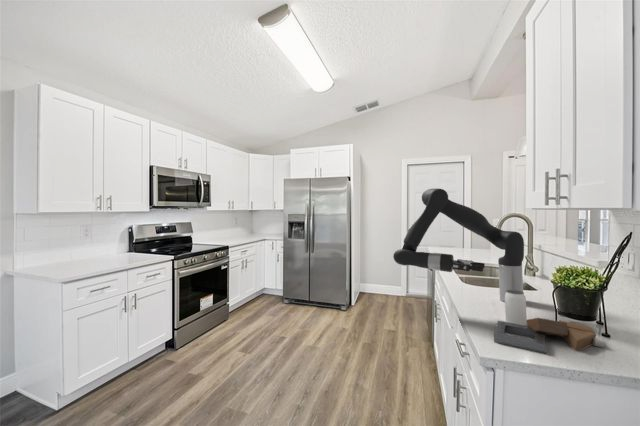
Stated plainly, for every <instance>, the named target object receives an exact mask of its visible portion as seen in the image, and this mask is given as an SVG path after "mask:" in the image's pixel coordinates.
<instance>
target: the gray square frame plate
mask: <svg viewBox="0 0 640 426" xmlns="http://www.w3.org/2000/svg"><path fill="white" fill-rule="evenodd" d="M493 342H494V343H496V342H497V343H498V344H502V345H506V346H510V347H516V348H520V349H524V350H530V351H533V352H538V353H542V354H547V352H546V349H547V348H546V345H547V344H546V337H545V334H544V332H538V331H534V330H533V329H532V328H531V327H529V326H527V325H526V326H525V325H519V324H514V323H508V322H506V321H501V320H498V321H497V323H496V326H495V329H494V333H493ZM497 343H496V344H497Z"/></svg>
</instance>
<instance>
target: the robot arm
mask: <svg viewBox="0 0 640 426" xmlns="http://www.w3.org/2000/svg"><path fill="white" fill-rule="evenodd" d="M421 201H422V204H423V205H424V206H425V207H424V208H425V209H424V210H423V212H422V213H421V214H420V216H419V217H418V218H417V219H416V220H415V222H413V224H411V226H410V228H409V230H408V231H407V234H406V235H405V237H404V239H403V246H402V248H401V249H397V250H395V251H394V253H393V256H392V257H393V260H394V261H395V263H396V264H398V265H401V266H414V267H417V268H422V269H423V268H424V269H429V270H434V271H439V272H447V273H452V272H453V270H456V271H457V270H458V271H465V272H472V271H475V272H483V271H484V269H485V266H486V265H485V263H484V262H478V261H473V260H470V259H469V260H468V259H462V258H458V259H456V260H455V258H454V255H453V254H448V253H440V252H425V251H417V250H418V247H419V245H420V244H421V242H422V240H423V238H424V236H425V235H426V233H427V231H428V230H429V228H430V226H431V225H432V223H433V222H434V221H435V219H436V218H437V216H439V214H440V213H441V214H442V215H444V216H446V217H448V218H449V219H450V220H452V221H453V222H455V223H457V224H458V225H459V226H461V227H463V228H465V229H466V230H469V232H472V233H474V234H476V235H477V236H479V237H482V238H484V239H485V240H487V242H489V243H491V244H492V245H494V247H496V248H498V249H500V250H503V251H504V255H503V256H501V257H499V258H498V283H499V286H498V287H499V288H498V289H499V300H500V301H501V302H503V303H505V293H506V290H518V291H522V292H524V282H523V281H524V280H523V261H524V258H525V241H524V237H523V235H522V234H521V233H520V232H518V231H510V230H509V231H508V230H503V229H500V228H498V227H495V226H494V225H492V224H491V223H490V222H489V221H488V219H487V218H486V217H485V215H483V214H482V213H480V212H478V211H477V210H475V209H474V208H471V207H469V206H467V205H463V204H460V203H459V202H458V203H457V202H455V201H453V200H450V199H449V194H448V192H447V191H446V190H445V189H443V188H429V189H426V190H425V191H423V193H422V195H421Z"/></svg>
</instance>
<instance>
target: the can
mask: <svg viewBox="0 0 640 426" xmlns="http://www.w3.org/2000/svg"><path fill="white" fill-rule="evenodd" d="M504 308H505V310H504V311H505V313H504V314H505V322H508V323H514V324H519V325H525V326H527V319H528V318H527V316H528V315H527V298H526V295H525V292H524V291H523V292H522V291H518V290H506V293H505V302H504Z"/></svg>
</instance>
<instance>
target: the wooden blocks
mask: <svg viewBox="0 0 640 426" xmlns="http://www.w3.org/2000/svg"><path fill="white" fill-rule="evenodd" d="M526 326H529V327H531V328H532V329H533V330H534V331H538V332H544V335H547V336H552V337H563V339H564V340H565V341H566V343H567V344H568V345H569V346H570V347H571V348H572V349H573V351H575V352H577V351H580V350H582V349H585V348H588V347H589V346H593V347H598V348H602V349H603V348H605V347H606V346H605V345H606V343H605V341H604V340H603V339H600V338H597V334H596V332H595V331H594V330H593V329H592V328H591V327H590V326H587V325H584V324H583V325H582V324H578V323H573V322H570V321H566V320H559V321H558V320H554V319H549V318H548V319H547V318H542V317H541V318H540V317H535V318H534V317H533V318H527V325H526Z"/></svg>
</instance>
